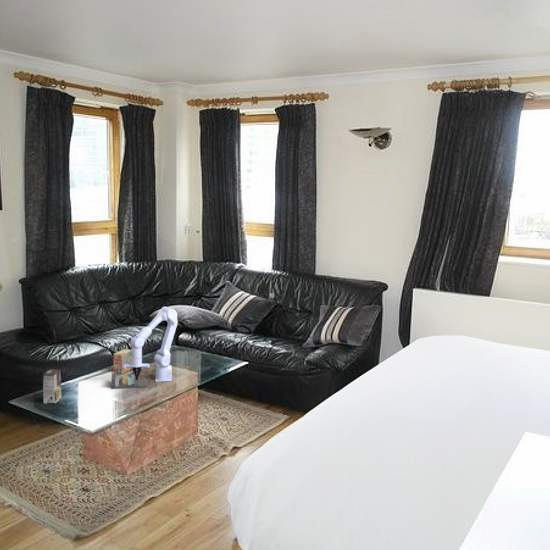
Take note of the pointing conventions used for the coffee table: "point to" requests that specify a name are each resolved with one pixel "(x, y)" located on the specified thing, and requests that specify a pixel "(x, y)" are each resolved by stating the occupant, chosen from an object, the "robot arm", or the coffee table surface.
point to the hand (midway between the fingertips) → (136, 379)
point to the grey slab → (118, 385)
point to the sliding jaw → (131, 378)
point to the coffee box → (52, 386)
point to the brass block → (125, 379)
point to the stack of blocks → (122, 360)
